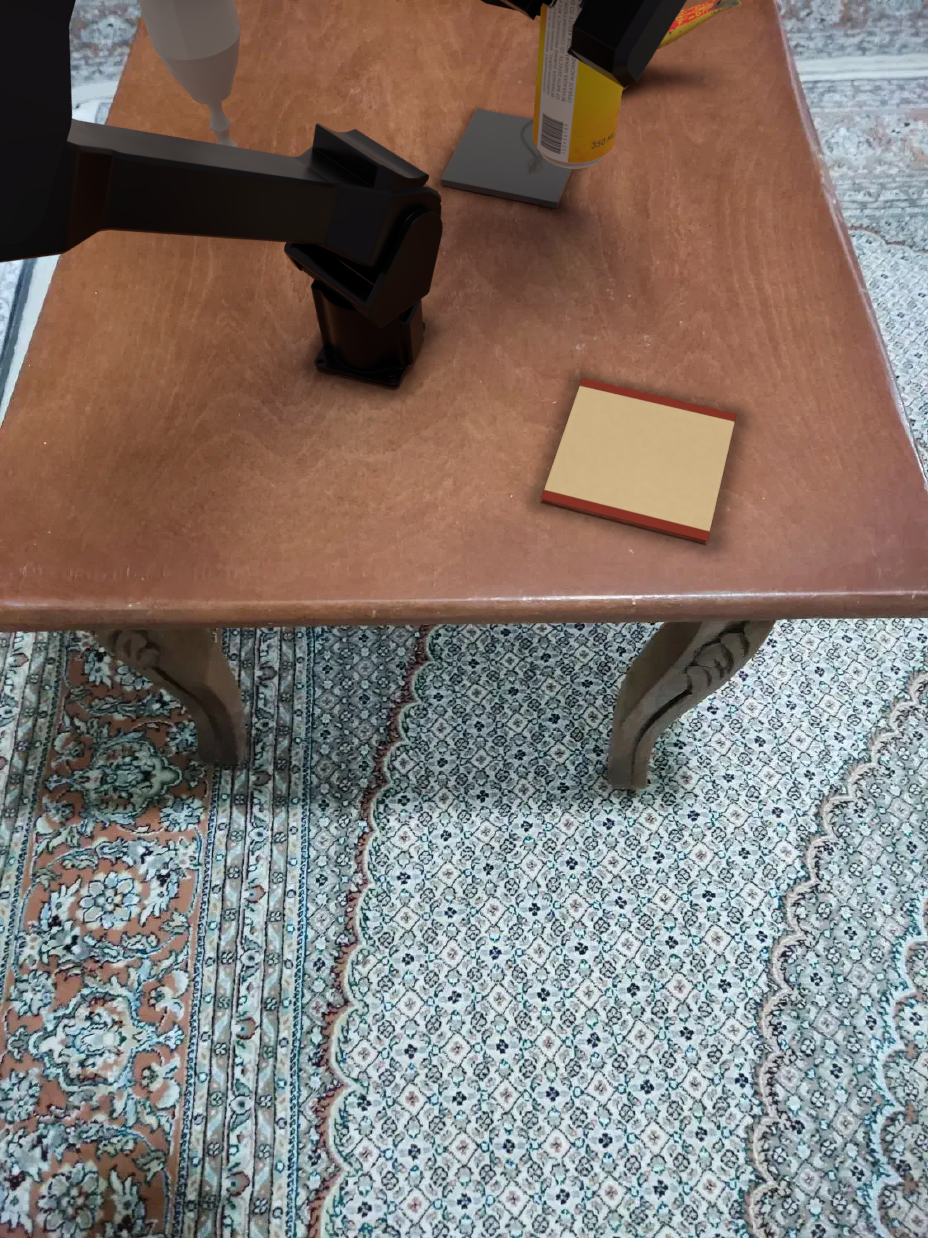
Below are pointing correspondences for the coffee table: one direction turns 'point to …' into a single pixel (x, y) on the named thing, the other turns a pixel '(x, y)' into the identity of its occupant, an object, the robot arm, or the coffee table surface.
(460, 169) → the coaster
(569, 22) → the beer can
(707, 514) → the beige and red tile
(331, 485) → the coffee table surface
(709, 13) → the magic lamp
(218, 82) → the chalice
